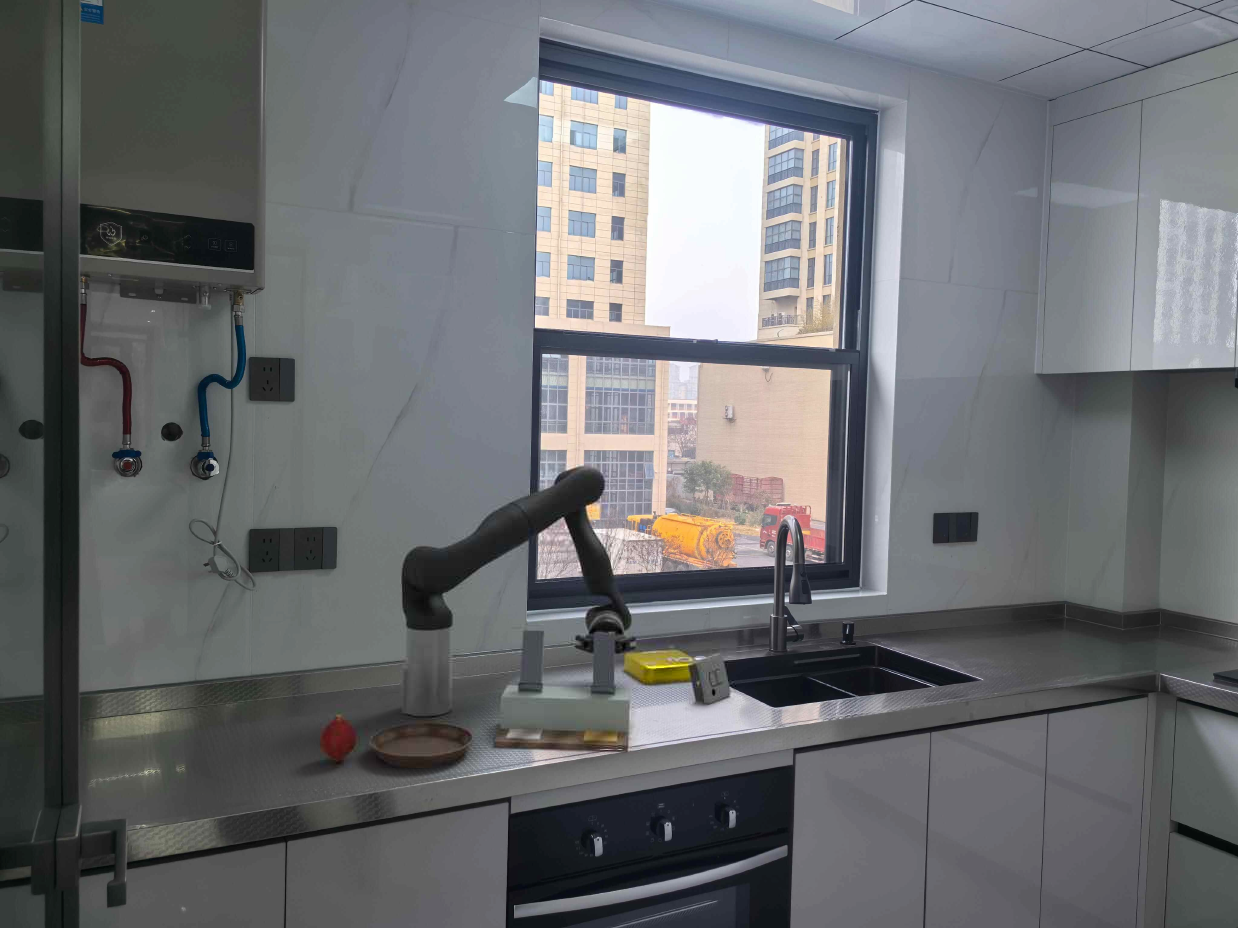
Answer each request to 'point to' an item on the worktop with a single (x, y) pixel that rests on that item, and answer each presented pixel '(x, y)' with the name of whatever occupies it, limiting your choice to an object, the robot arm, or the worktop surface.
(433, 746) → the plant saucer
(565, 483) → the robot arm
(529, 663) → the left lever
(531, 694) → the block
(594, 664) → the right lever
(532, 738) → the brown rectangular board
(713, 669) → the electrical switch
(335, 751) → the onion
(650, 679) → the element tile
